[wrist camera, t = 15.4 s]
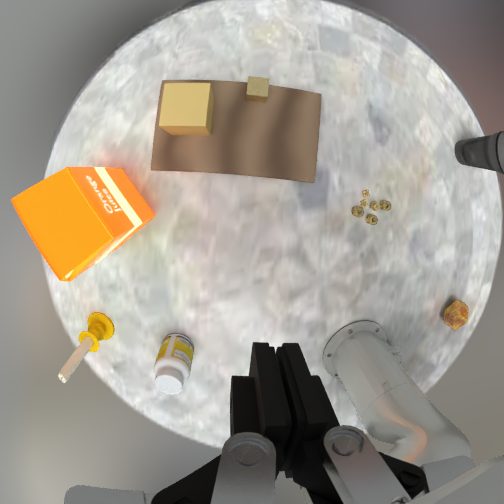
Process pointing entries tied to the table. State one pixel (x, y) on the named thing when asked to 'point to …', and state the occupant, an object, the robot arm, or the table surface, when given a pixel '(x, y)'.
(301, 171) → the board
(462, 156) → the beverage cup
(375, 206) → the set of tan pieces
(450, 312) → the pyrite
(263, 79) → the wooden stub
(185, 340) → the supplement bottle
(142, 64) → the table surface
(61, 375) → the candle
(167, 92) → the tan rectangular block
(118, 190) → the orange juice
